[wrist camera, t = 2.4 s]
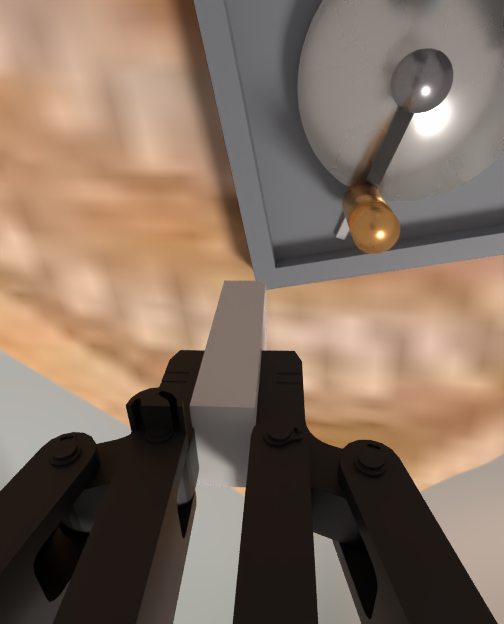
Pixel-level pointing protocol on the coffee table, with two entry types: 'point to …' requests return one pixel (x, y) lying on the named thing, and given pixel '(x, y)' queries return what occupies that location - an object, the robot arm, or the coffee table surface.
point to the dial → (402, 101)
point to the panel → (317, 163)
